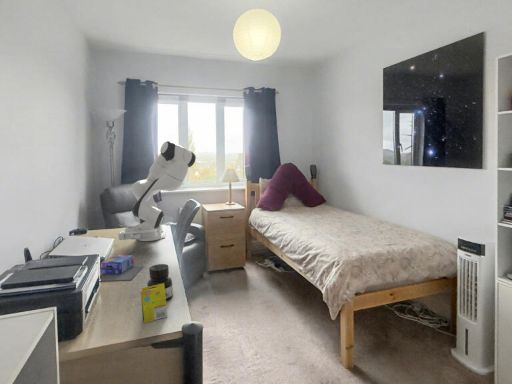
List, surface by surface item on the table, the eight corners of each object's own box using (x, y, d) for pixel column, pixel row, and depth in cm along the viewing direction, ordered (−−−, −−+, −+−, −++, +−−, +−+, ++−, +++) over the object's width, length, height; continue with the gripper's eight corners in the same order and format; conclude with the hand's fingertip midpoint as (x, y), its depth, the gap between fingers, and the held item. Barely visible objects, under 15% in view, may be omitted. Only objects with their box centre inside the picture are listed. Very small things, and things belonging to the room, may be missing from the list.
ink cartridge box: (134, 254, 151) (115, 265, 137) (135, 265, 152) (116, 277, 138) (115, 253, 153) (95, 264, 139) (116, 264, 154) (96, 276, 140)
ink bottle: (148, 305, 111) (145, 273, 110) (146, 296, 119) (144, 265, 118) (176, 300, 115) (174, 268, 114) (172, 291, 123) (170, 261, 122)
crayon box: (165, 313, 105) (163, 280, 104) (167, 317, 103) (165, 283, 101) (142, 319, 102) (139, 285, 100) (143, 323, 99) (141, 288, 98)
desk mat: (114, 267, 151) (114, 266, 151) (143, 266, 152) (143, 265, 152) (97, 281, 134) (97, 280, 134) (131, 280, 135) (130, 279, 135)
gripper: (161, 235, 178) (153, 242, 164) (125, 238, 178) (114, 245, 164) (160, 224, 177) (152, 230, 163) (124, 227, 177) (113, 233, 163)
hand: (132, 237), depth 164 cm, fingers closed
